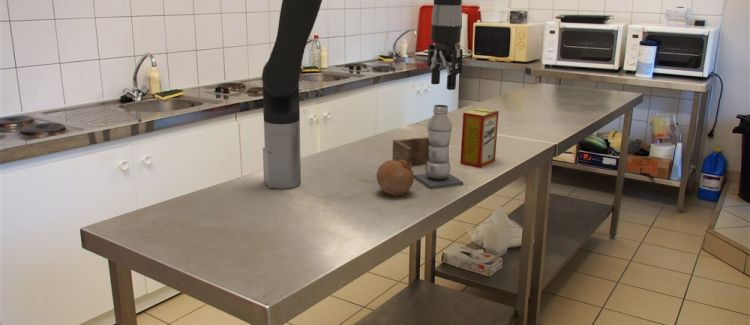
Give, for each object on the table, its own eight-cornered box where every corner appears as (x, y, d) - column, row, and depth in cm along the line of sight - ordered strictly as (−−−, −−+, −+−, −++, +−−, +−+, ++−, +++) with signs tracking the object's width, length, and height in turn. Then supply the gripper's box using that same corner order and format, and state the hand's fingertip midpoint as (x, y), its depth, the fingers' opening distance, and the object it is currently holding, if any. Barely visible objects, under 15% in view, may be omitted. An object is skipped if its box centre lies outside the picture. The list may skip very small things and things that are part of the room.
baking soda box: (479, 168, 181) (483, 114, 177) (460, 163, 185) (463, 111, 181) (494, 161, 189) (498, 109, 184) (476, 157, 192) (479, 106, 188)
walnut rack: (407, 176, 172) (408, 148, 170) (392, 166, 181) (392, 140, 179) (446, 172, 177) (447, 145, 175) (429, 162, 186) (431, 136, 184)
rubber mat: (430, 188, 163) (430, 185, 162) (413, 177, 171) (413, 175, 171) (463, 184, 166) (463, 181, 166) (445, 174, 175) (445, 171, 175)
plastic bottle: (448, 182, 165) (453, 109, 159) (423, 180, 166) (426, 107, 161) (450, 175, 171) (454, 104, 165) (426, 173, 172) (429, 103, 167)
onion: (408, 203, 161) (426, 170, 158) (391, 204, 153) (410, 169, 150) (380, 183, 165) (398, 151, 163) (363, 183, 157) (381, 149, 154)
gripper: (420, 21, 162) (417, 83, 166) (447, 25, 149) (443, 92, 154) (445, 21, 165) (442, 82, 169) (473, 25, 152) (469, 90, 157)
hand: (443, 86), depth 162 cm, fingers open, 8 cm apart
